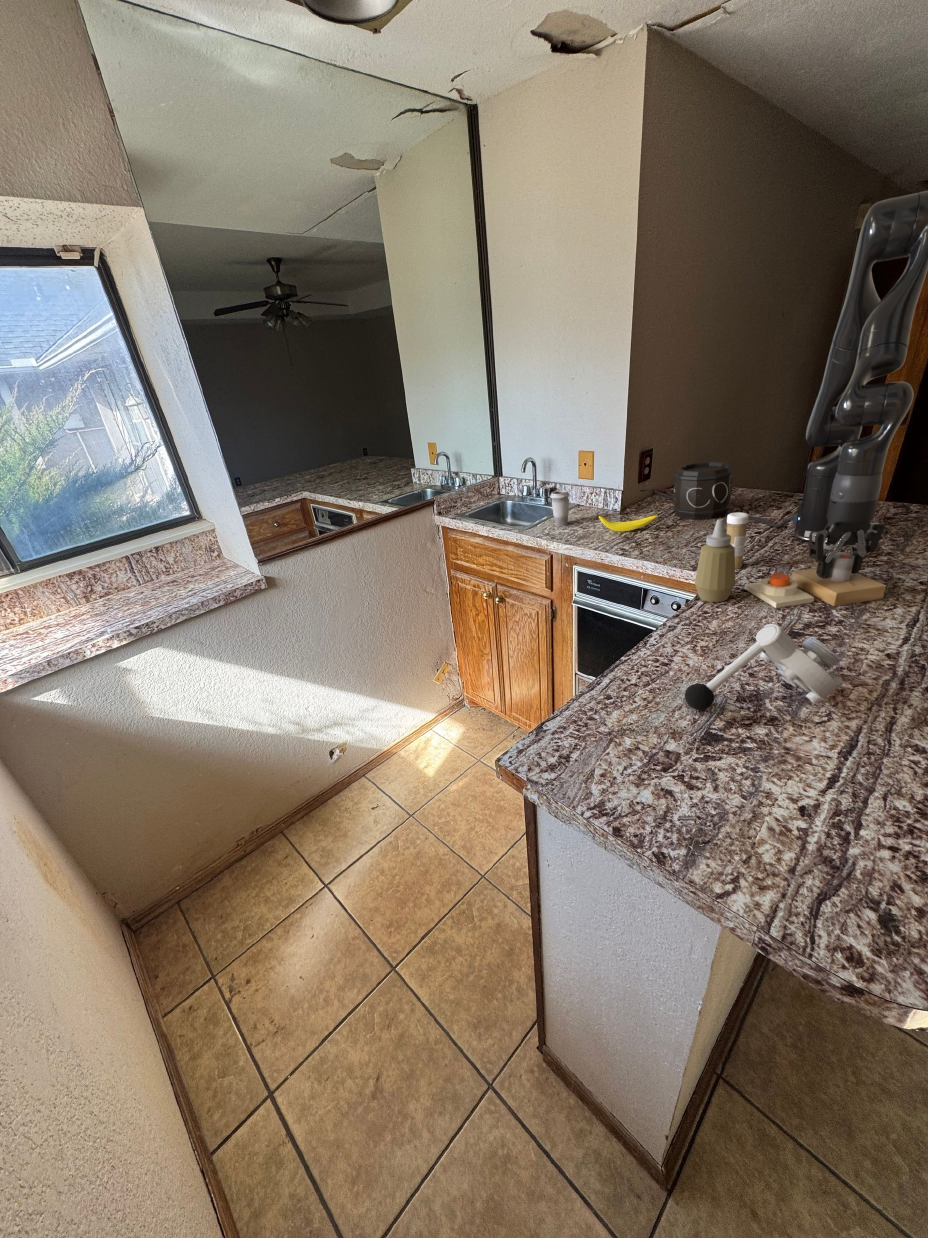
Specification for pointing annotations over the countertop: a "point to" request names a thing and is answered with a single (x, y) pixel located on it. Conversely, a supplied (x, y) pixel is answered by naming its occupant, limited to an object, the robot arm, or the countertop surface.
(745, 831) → the countertop surface
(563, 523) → the cup
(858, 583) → the panel
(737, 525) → the sprinkles bottle
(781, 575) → the button
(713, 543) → the squeeze bottle
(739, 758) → the countertop surface
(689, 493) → the octagonal grey canister
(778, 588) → the button block
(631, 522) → the banana
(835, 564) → the knob
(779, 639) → the valve
